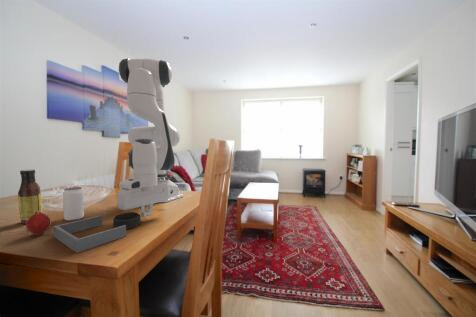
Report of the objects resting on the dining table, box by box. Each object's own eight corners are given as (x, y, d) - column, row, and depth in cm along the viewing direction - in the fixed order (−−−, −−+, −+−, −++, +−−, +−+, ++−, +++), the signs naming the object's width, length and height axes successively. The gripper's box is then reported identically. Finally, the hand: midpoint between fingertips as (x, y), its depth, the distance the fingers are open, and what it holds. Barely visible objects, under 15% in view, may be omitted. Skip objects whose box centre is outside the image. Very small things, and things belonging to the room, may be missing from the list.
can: (73, 221, 84) (72, 190, 83) (59, 220, 85) (58, 189, 85) (88, 216, 90) (87, 187, 90) (74, 215, 92) (73, 186, 91)
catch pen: (100, 224, 81) (100, 215, 81) (126, 236, 71) (126, 225, 71) (54, 237, 70) (53, 226, 70) (76, 252, 60) (76, 240, 60)
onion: (30, 233, 73) (29, 209, 72) (52, 230, 75) (51, 207, 75) (24, 240, 67) (22, 214, 67) (48, 236, 70) (47, 211, 70)
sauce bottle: (32, 218, 87) (30, 168, 86) (47, 219, 86) (45, 168, 85) (14, 224, 80) (11, 170, 79) (29, 225, 80) (27, 170, 79)
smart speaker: (141, 221, 86) (141, 210, 85) (139, 229, 77) (139, 218, 77) (116, 223, 83) (116, 212, 83) (110, 232, 75) (110, 220, 74)
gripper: (162, 177, 95) (163, 208, 96) (114, 183, 79) (115, 221, 79) (172, 178, 92) (172, 211, 93) (124, 185, 75) (124, 225, 76)
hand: (145, 216), depth 86 cm, fingers closed
